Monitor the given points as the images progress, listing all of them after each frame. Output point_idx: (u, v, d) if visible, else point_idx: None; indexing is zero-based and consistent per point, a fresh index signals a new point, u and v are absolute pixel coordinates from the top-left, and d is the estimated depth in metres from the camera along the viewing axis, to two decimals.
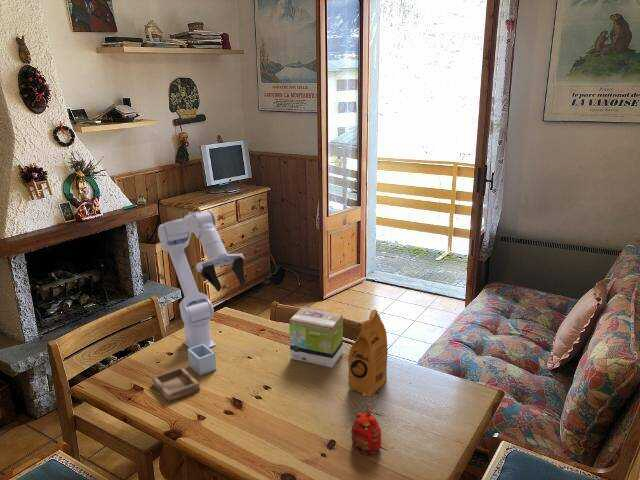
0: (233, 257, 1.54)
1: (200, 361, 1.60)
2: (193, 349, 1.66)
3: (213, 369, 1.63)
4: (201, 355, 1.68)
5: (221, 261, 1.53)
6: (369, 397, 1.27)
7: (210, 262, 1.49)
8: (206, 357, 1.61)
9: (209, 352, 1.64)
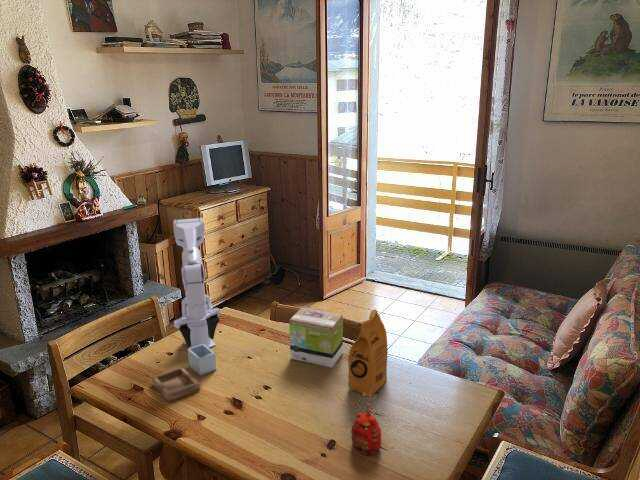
0: None
1: (200, 361, 1.60)
2: (193, 349, 1.66)
3: (213, 369, 1.63)
4: (201, 355, 1.68)
5: None
6: (369, 397, 1.27)
7: None
8: (206, 357, 1.61)
9: (209, 352, 1.64)
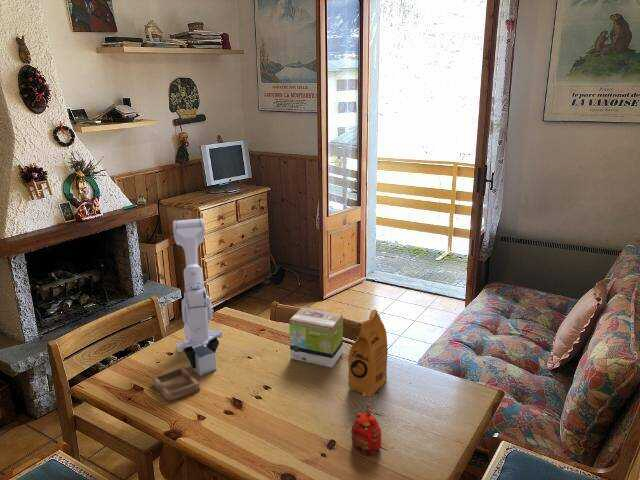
0: None
1: (200, 361, 1.60)
2: (193, 349, 1.66)
3: (213, 369, 1.63)
4: (201, 355, 1.68)
5: None
6: (369, 397, 1.27)
7: None
8: (206, 357, 1.61)
9: (209, 352, 1.64)
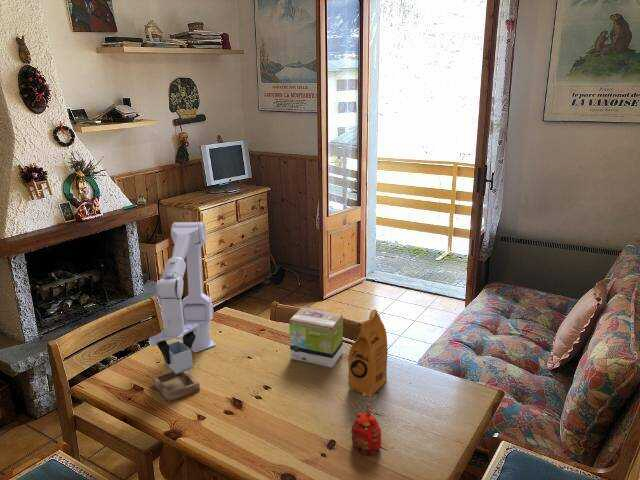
0: None
1: (175, 358, 1.49)
2: None
3: (190, 367, 1.53)
4: (177, 352, 1.57)
5: None
6: (369, 397, 1.27)
7: None
8: (181, 354, 1.50)
9: (185, 349, 1.53)
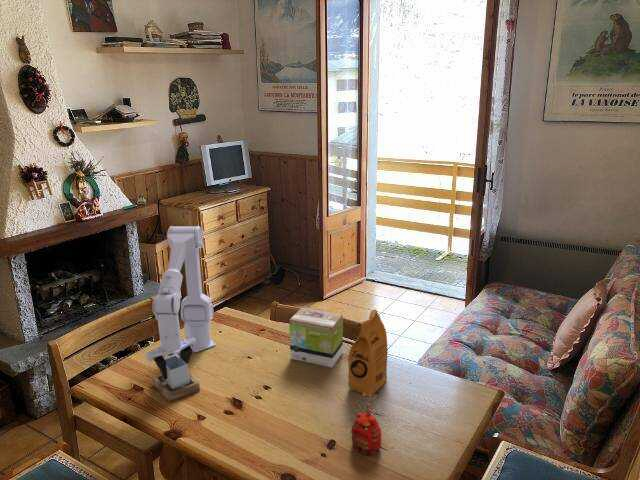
0: None
1: (172, 374, 1.49)
2: None
3: (186, 382, 1.52)
4: (175, 366, 1.57)
5: None
6: (369, 397, 1.27)
7: None
8: (178, 369, 1.50)
9: (182, 363, 1.53)
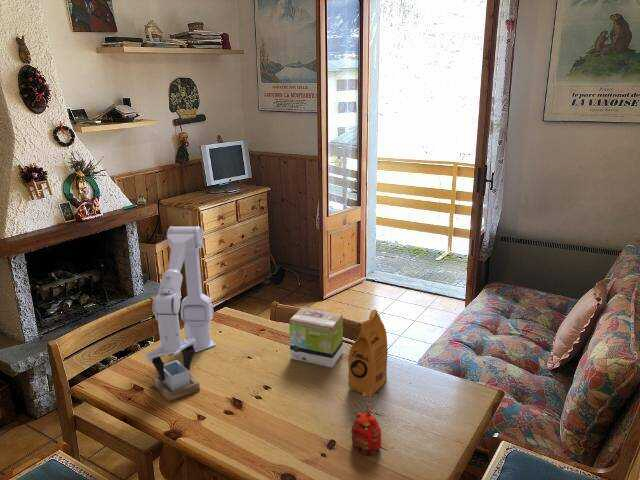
0: None
1: (173, 380, 1.49)
2: (166, 366, 1.55)
3: None
4: (174, 372, 1.58)
5: None
6: (369, 397, 1.27)
7: None
8: (179, 375, 1.50)
9: (183, 369, 1.54)
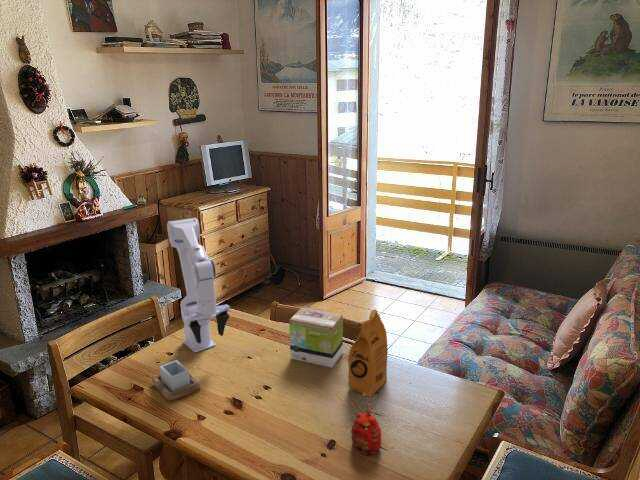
0: None
1: (173, 380, 1.49)
2: (166, 366, 1.55)
3: None
4: (174, 372, 1.58)
5: None
6: (369, 397, 1.27)
7: None
8: (179, 375, 1.50)
9: (183, 369, 1.54)
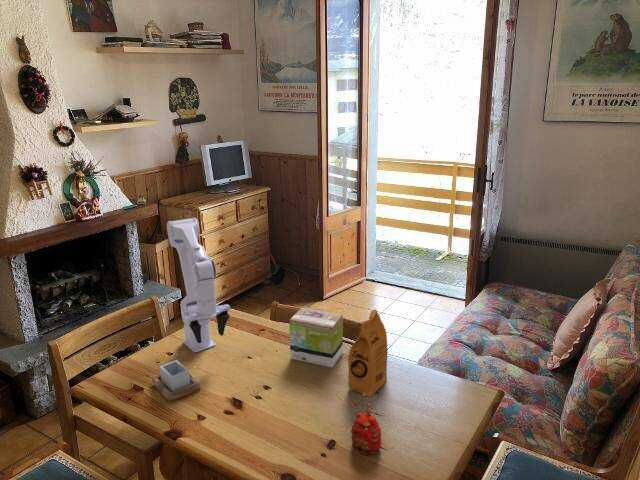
0: None
1: (173, 380, 1.49)
2: (166, 366, 1.55)
3: None
4: (174, 372, 1.58)
5: None
6: (369, 397, 1.27)
7: None
8: (179, 375, 1.50)
9: (183, 369, 1.54)
